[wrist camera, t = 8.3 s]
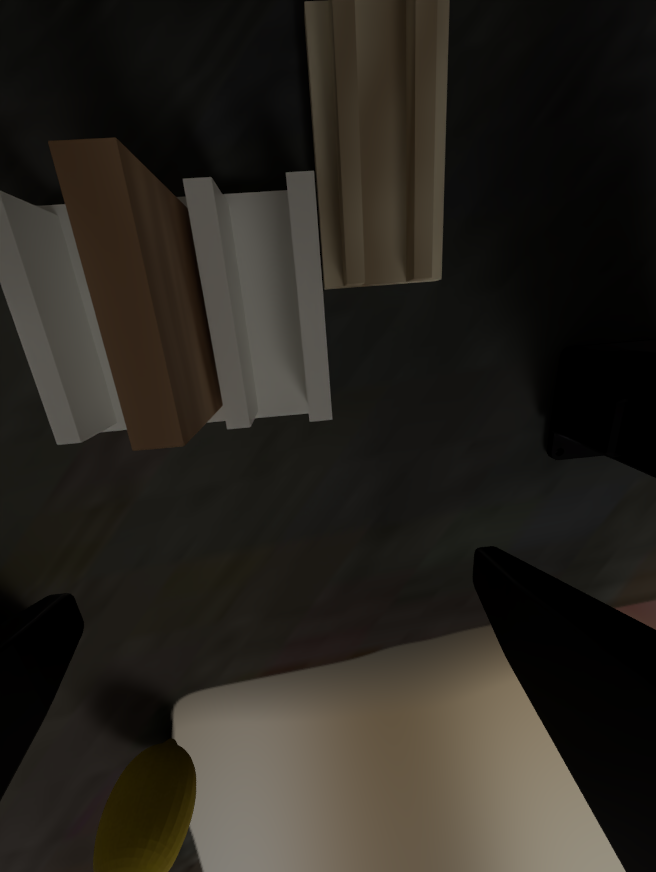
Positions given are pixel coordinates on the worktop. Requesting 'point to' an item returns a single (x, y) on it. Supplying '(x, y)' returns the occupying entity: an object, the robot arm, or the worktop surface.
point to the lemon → (147, 812)
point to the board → (141, 290)
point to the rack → (223, 295)
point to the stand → (379, 137)
